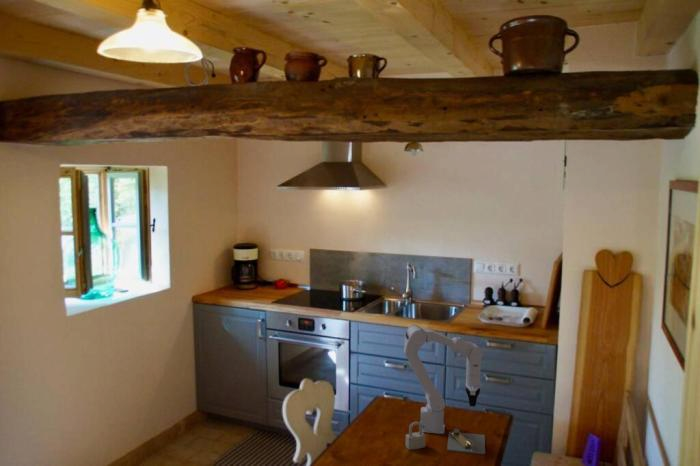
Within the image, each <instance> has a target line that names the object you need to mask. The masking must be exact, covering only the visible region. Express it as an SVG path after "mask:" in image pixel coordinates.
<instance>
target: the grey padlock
mask: <svg viewBox="0 0 700 466" xmlns="http://www.w3.org/2000/svg"><path fill="white" fill-rule="evenodd" d="M414 426H418V431H417V432H416V431H415V432H413V427H414ZM405 447H406V449H407V450H409V451H410V450H418V449H422V448H425V447H426V434H425V432H422V424H421V423H420V421H413V422H411V424H410V425H409V427H408V433H406V434H405Z"/></svg>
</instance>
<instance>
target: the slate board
mask: <svg viewBox="0 0 700 466" xmlns="http://www.w3.org/2000/svg"><path fill="white" fill-rule="evenodd" d="M452 432H453V431H448V440H447V447H446V450H447V452H456V453H464V454H465V453H466V454H475V455H486V435H485V434H477V433H467V432H460V433H461V435H462V436H463V437H465V438H466V439H471V440H473V441H474V442H475V443H476V450H471V449H470V447H467V448H464V447H463V446H462V445H461V444H460V443H459V442H458V441H457V440H456V439H455V438H454V437H452Z"/></svg>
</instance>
